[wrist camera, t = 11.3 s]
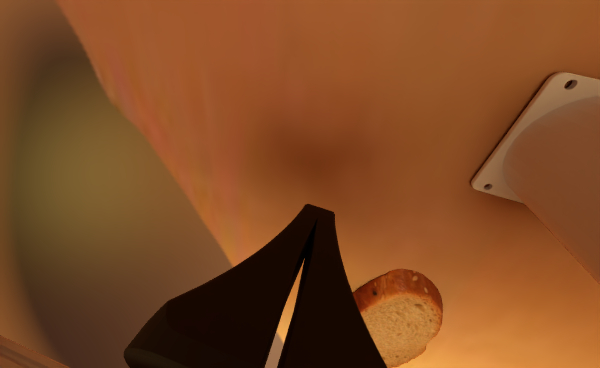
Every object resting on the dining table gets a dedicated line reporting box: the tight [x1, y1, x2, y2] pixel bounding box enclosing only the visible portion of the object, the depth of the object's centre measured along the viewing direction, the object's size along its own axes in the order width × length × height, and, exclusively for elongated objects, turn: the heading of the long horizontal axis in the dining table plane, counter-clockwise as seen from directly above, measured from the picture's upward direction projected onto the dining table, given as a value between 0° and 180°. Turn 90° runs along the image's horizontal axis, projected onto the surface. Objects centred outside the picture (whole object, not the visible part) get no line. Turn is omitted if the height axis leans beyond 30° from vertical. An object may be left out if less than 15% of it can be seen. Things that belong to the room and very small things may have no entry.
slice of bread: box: [353, 269, 443, 368], centre depth 28 cm, size 18×18×4 cm
